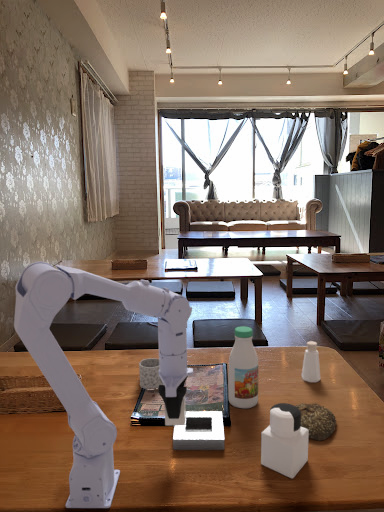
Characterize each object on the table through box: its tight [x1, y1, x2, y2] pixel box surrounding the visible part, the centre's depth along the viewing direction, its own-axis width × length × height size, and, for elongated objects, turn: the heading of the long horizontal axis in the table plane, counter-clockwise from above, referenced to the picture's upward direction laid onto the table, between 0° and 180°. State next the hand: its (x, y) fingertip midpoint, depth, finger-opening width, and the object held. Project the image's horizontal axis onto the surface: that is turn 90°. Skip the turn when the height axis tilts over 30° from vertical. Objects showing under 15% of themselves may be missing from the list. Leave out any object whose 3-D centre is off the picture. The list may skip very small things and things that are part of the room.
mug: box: [138, 357, 164, 389], centre depth 118 cm, size 10×7×7 cm
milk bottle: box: [227, 325, 259, 409], centre depth 106 cm, size 8×8×20 cm
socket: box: [172, 410, 225, 451], centre depth 93 cm, size 11×11×2 cm
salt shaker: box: [300, 340, 321, 383], centre depth 119 cm, size 5×5×11 cm
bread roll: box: [295, 402, 337, 441], centre depth 97 cm, size 13×12×5 cm
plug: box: [164, 395, 187, 426], centre depth 85 cm, size 4×4×6 cm
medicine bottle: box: [260, 402, 309, 479], centre depth 82 cm, size 7×7×12 cm
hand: (174, 411), depth 85 cm, fingers closed on plug, 4 cm apart
